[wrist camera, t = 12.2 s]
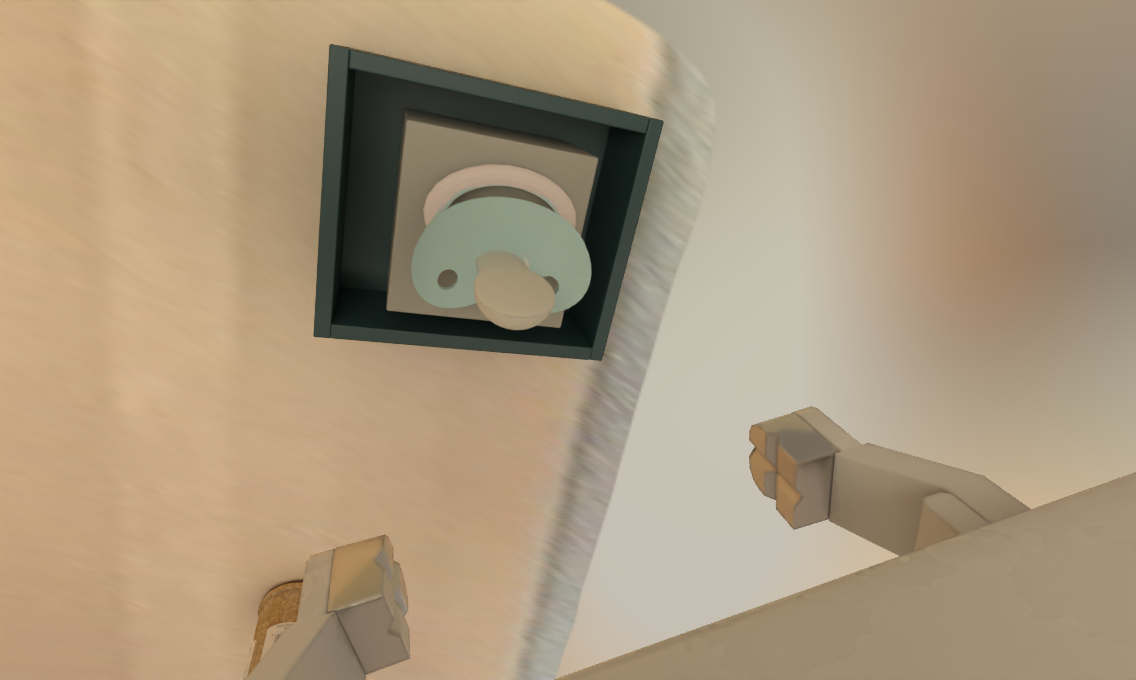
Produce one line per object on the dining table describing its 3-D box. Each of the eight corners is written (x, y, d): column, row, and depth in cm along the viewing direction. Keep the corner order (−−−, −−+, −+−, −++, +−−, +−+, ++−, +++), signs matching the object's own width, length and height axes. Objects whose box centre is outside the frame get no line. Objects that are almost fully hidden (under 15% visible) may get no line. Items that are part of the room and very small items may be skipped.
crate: (326, 291, 32) (313, 337, 26) (341, 45, 27) (329, 43, 22) (573, 318, 36) (602, 361, 31) (621, 110, 31) (664, 121, 26)
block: (387, 268, 31) (386, 311, 26) (404, 107, 28) (406, 119, 23) (535, 286, 34) (560, 328, 28) (564, 140, 31) (599, 158, 25)
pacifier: (415, 151, 23) (407, 295, 26) (421, 173, 18) (411, 354, 20) (589, 173, 26) (569, 304, 28) (643, 199, 20) (612, 360, 22)
